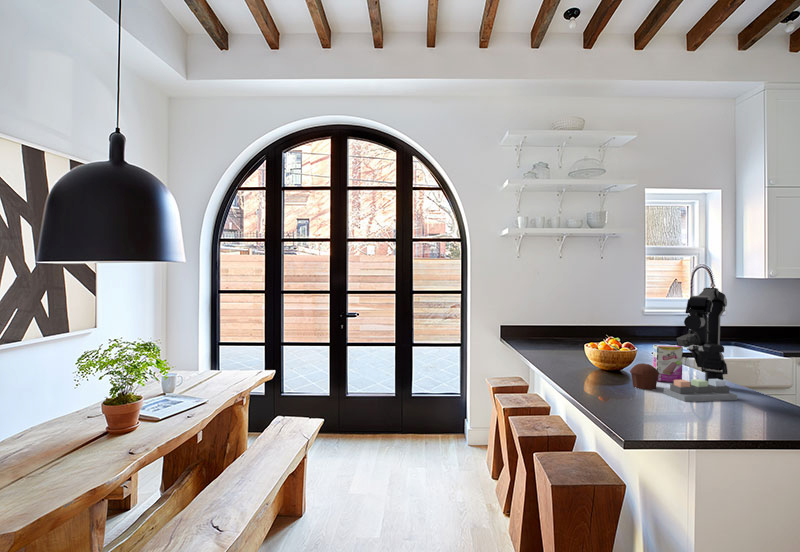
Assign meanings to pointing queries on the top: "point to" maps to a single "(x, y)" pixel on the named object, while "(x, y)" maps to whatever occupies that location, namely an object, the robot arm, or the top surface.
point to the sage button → (699, 383)
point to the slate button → (716, 382)
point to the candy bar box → (668, 362)
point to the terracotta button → (681, 383)
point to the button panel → (700, 393)
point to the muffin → (644, 376)
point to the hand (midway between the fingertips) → (699, 367)
